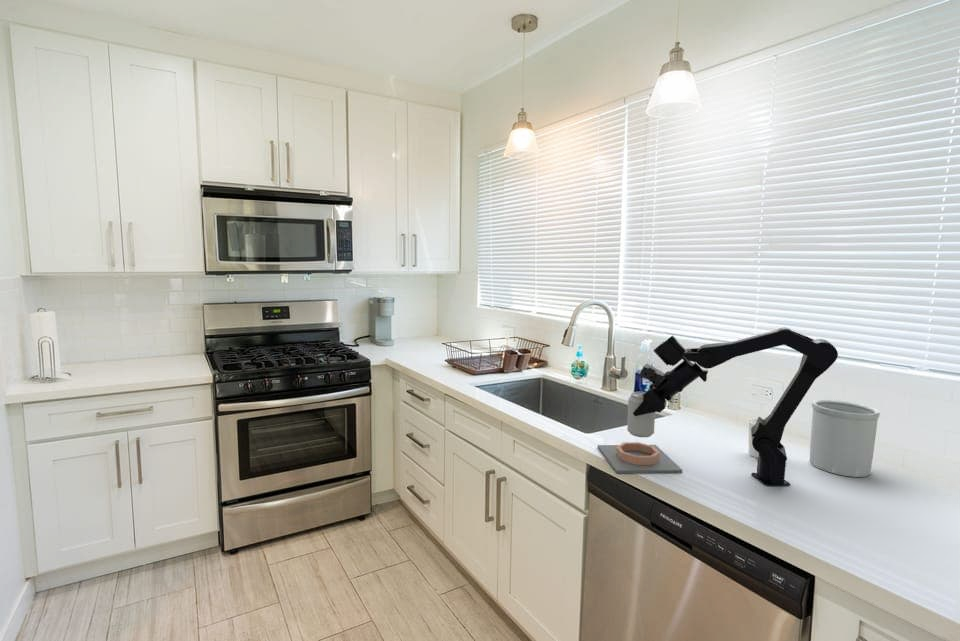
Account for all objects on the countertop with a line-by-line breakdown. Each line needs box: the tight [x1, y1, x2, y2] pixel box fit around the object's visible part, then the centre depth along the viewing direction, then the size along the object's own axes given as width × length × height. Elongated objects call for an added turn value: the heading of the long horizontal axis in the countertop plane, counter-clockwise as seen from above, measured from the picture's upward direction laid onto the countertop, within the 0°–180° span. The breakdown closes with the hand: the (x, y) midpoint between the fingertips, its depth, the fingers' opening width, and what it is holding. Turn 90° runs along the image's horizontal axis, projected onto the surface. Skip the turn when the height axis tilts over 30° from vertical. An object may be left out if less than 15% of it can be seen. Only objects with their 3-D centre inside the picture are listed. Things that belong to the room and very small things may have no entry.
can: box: [626, 391, 656, 438], centre depth 139 cm, size 8×8×12 cm
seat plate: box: [597, 441, 683, 474], centre depth 138 cm, size 18×18×3 cm
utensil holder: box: [809, 398, 881, 478], centre depth 133 cm, size 15×15×18 cm
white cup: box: [748, 418, 765, 459], centre depth 141 cm, size 8×8×10 cm
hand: (636, 411), depth 140 cm, fingers closed on can, 7 cm apart
